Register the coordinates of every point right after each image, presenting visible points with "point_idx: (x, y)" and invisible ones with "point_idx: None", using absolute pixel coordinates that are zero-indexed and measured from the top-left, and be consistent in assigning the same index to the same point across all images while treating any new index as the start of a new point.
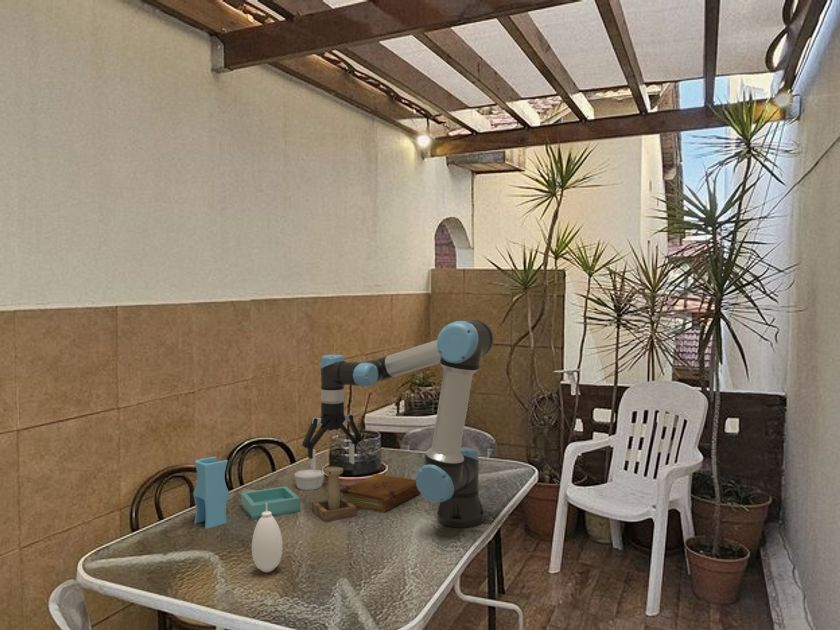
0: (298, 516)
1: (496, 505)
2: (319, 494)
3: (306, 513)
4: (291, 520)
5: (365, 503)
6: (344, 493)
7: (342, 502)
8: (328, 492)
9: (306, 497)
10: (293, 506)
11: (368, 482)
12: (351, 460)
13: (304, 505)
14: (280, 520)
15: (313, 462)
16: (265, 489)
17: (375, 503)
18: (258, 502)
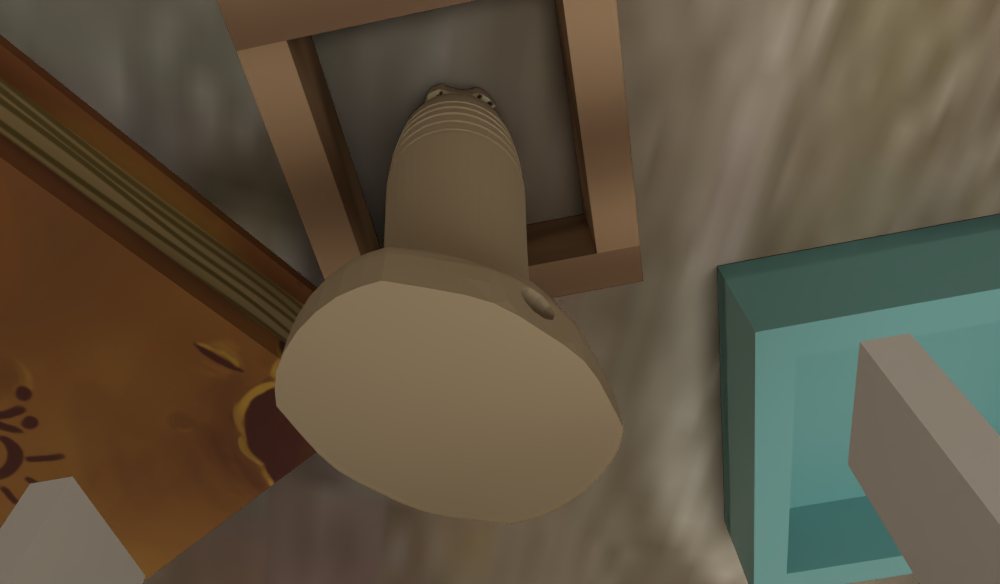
0: (769, 156)
1: None
2: (497, 540)
3: (684, 208)
4: (860, 72)
5: (135, 202)
6: None
7: (361, 241)
8: (524, 211)
9: (593, 512)
10: (794, 283)
11: None
12: (67, 556)
13: (648, 379)
14: (942, 104)
15: (994, 434)
16: None
17: (12, 126)
18: None
